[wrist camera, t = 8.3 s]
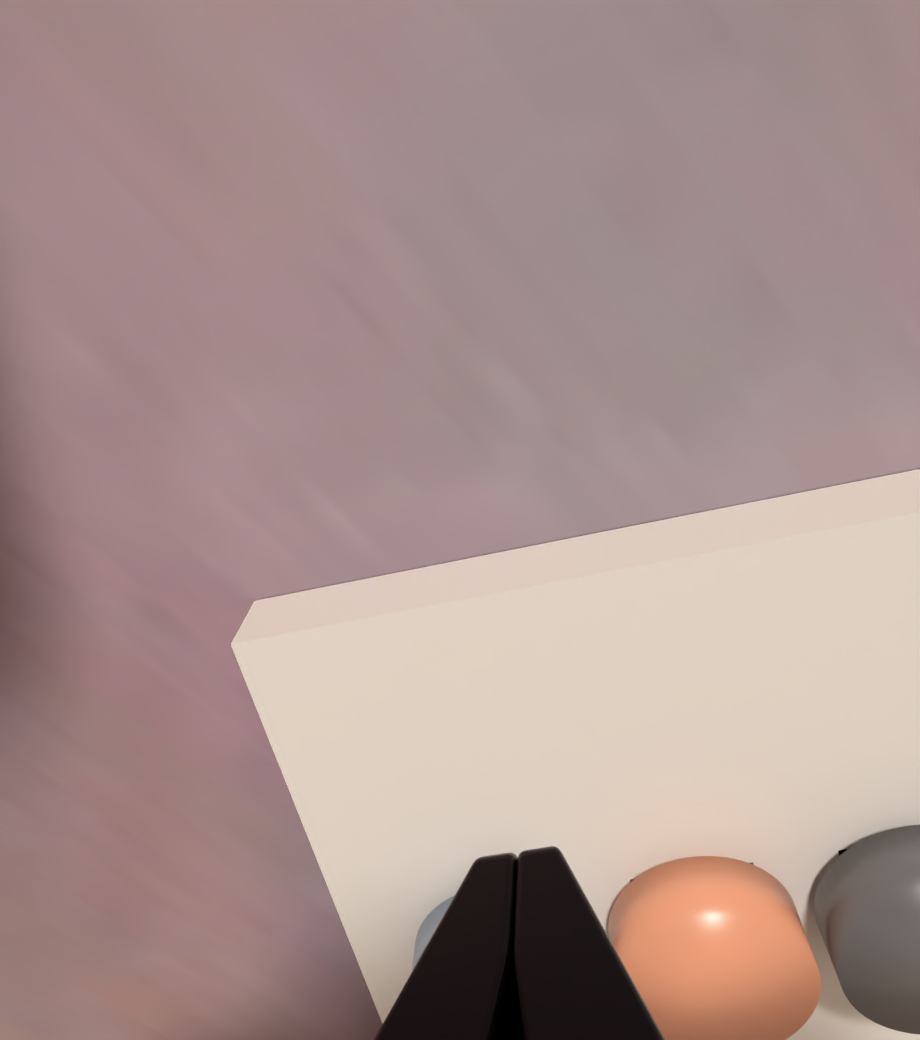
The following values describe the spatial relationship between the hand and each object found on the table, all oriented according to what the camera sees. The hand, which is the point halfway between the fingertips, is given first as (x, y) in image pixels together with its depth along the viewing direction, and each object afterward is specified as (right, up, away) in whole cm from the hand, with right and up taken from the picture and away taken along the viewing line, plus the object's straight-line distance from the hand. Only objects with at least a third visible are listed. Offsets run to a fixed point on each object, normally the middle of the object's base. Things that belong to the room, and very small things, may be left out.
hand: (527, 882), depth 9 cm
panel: (+5, -5, +15) cm, 17 cm away
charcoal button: (+10, -5, +14) cm, 18 cm away
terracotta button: (+5, -6, +15) cm, 17 cm away
